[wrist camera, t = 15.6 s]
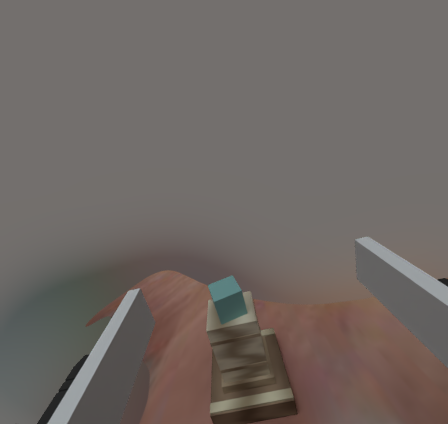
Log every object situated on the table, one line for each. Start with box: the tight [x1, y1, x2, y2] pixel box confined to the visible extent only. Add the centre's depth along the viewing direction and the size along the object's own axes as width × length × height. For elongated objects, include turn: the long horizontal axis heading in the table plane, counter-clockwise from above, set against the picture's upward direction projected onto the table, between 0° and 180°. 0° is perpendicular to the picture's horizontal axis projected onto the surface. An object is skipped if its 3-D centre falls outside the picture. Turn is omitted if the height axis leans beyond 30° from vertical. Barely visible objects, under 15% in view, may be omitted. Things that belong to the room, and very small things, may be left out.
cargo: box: [208, 276, 248, 325], centre depth 31 cm, size 4×4×4 cm
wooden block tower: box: [206, 291, 276, 394], centre depth 33 cm, size 8×7×12 cm
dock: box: [210, 328, 297, 424], centre depth 36 cm, size 12×12×3 cm
